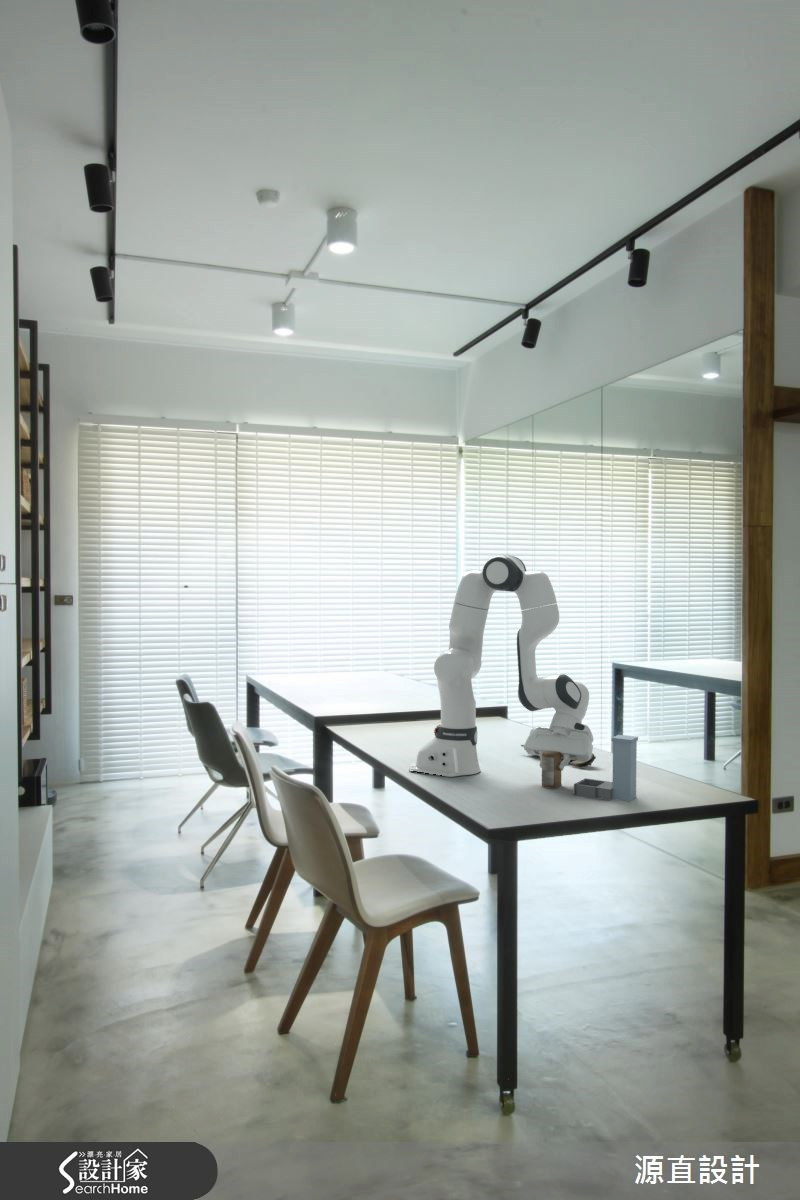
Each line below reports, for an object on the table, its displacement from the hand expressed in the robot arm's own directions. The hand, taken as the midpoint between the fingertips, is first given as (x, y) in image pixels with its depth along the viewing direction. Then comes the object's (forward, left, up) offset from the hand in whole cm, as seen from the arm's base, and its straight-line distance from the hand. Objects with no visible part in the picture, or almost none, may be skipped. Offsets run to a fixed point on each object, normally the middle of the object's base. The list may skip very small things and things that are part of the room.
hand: (550, 768), depth 247 cm
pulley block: (-2, +38, -6) cm, 38 cm away
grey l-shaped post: (+16, -6, -5) cm, 18 cm away
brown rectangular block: (0, +1, -5) cm, 5 cm away
